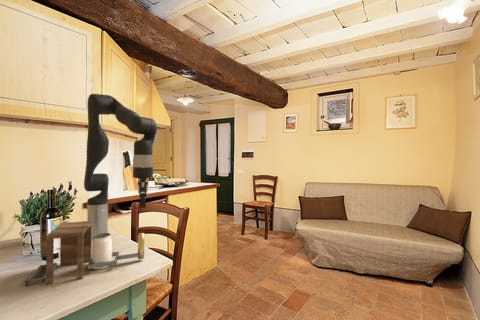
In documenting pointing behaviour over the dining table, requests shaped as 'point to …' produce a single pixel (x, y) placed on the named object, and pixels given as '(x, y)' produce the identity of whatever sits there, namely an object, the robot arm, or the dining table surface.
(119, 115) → the robot arm
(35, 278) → the pit trap
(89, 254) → the brown wooden stool
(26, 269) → the dining table surface
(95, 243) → the can
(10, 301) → the dining table surface
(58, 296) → the dining table surface
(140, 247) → the lever handle
